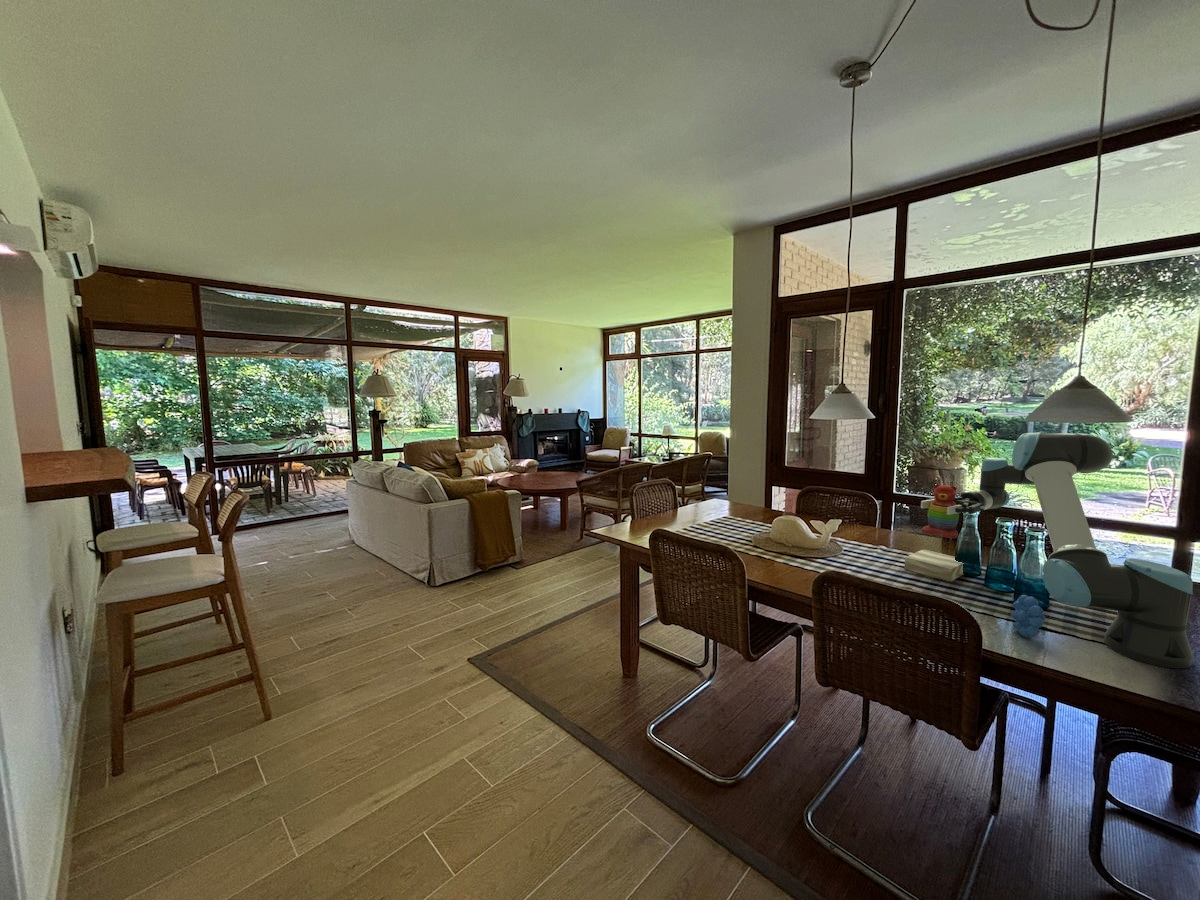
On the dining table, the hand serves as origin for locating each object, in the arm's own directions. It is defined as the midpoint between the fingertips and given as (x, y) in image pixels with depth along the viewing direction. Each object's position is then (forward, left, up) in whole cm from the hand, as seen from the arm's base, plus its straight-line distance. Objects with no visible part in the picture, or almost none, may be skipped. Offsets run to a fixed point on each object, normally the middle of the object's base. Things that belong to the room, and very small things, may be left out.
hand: (934, 507), depth 176 cm
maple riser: (+5, 0, -25) cm, 25 cm away
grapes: (-29, -35, -25) cm, 52 cm away
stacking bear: (+5, -1, -10) cm, 11 cm away
